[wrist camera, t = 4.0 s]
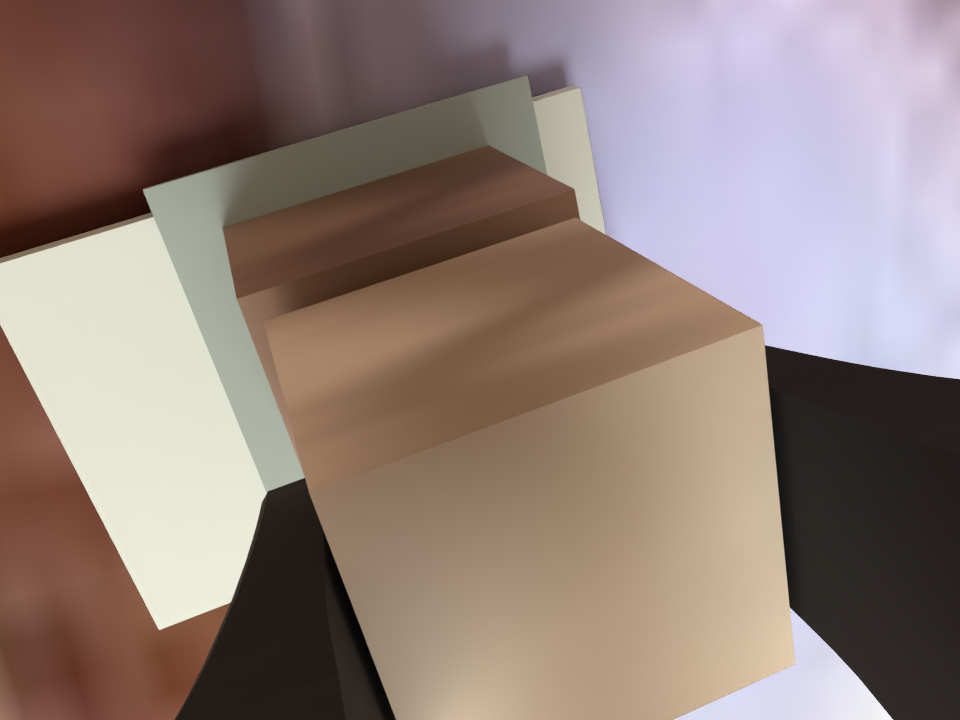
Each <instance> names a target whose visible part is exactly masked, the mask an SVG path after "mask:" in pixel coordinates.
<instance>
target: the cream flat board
mask: <svg viewBox="0 0 960 720" xmlns="http://www.w3.org/2000/svg"><path fill="white" fill-rule="evenodd" d="M488 145H489V146H491V147H493V148H495V149H497V150H499V151H501V152H503V153H505V154H507V155H509V156H511V157H513V158H515V159H517V160H519V161H520V162H522V163H524V164H526V165H528V166H530V167H532V168H534V169H536V170H538V171H540V172H542V173H544V174H546V175H548V176H550V177H552V178H554V179H556V180H558V181H560V182H562V183H564V184H566V185H568V186H570V187H572V188H573V189H575V194H576V199H577V205H578V210H579V215H580V220H581V221H583V222H584V223H586V224H588V225H590V226H591V227H593V228H595V229H597V230H598V231H600V232H602V233H603V234H605V235H606V232H605V227H604V221H603V215H602V209H601V204H600V198H599V192H598V186H597V180H596V175H595V169H594V163H593V157H592V152H591V146H590V140H589V134H588V128H587V123H586V117H585V111H584V105H583V100H582V94H581V88H580V87H576V86H573V85H572V86H568V87H565V88H562V89H558V90H555V91H552V92H548V93H545V94H542V95H538V96H535V97H532V95H531V90H530V85H529V80H528V75H524V76H521V77H517V78H514V79H511V80H507V81H504V82H501V83H497V84H494V85H490V86H487V87H484V88H480V89H477V90H474V91H470V92H467V93H463V94H460V95H457V96H453V97H450V98H447V99H443V100H440V101H437V102H433V103H430V104H426V105H423V106H420V107H416V108H413V109H410V110H406V111H403V112H399V113H396V114H393V115H389V116H386V117H383V118H379V119H376V120H373V121H369V122H366V123H362V124H359V125H356V126H352V127H349V128H346V129H342V130H339V131H335V132H332V133H329V134H325V135H322V136H319V137H315V138H312V139H309V140H305V141H302V142H298V143H295V144H292V145H288V146H285V147H282V148H278V149H275V150H271V151H268V152H265V153H261V154H258V155H255V156H251V157H248V158H245V159H241V160H238V161H234V162H231V163H228V164H224V165H221V166H218V167H214V168H211V169H207V170H204V171H201V172H197V173H194V174H191V175H187V176H184V177H181V178H177V179H174V180H170V181H167V182H164V183H160V184H157V185H154V186H150V187H147V188H143V192H144V195H145V197H146V200H147V202H148V204H149V207H150V209H151V213H148V214H145V215H141V216H138V217H135V218H131V219H128V220H125V221H121V222H118V223H115V224H112V225H108V226H105V227H102V228H98V229H95V230H92V231H88V232H85V233H82V234H78V235H75V236H72V237H69V238H65V239H62V240H59V241H55V242H52V243H49V244H45V245H42V246H39V247H35V248H32V249H29V250H26V251H22V252H19V253H16V254H12V255H9V256H6V257H2V258H0V325H1V327H2V329H3V331H4V333H5V335H6V337H7V338H8V340H9V342H10V344H11V346H12V348H13V350H14V352H15V354H16V356H17V358H18V360H19V362H20V363H21V365H22V367H23V369H24V371H25V373H26V375H27V377H28V379H29V381H30V383H31V385H32V387H33V388H34V390H35V392H36V394H37V396H38V398H39V400H40V402H41V404H42V406H43V408H44V410H45V412H46V413H47V415H48V417H49V419H50V421H51V423H52V425H53V427H54V429H55V431H56V433H57V435H58V437H59V438H60V440H61V442H62V444H63V446H64V448H65V450H66V452H67V454H68V456H69V458H70V460H71V462H72V464H73V465H74V467H75V469H76V471H77V473H78V475H79V477H80V479H81V481H82V483H83V485H84V487H85V489H86V490H87V492H88V494H89V496H90V498H91V500H92V502H93V504H94V506H95V508H96V510H97V512H98V514H99V515H100V517H101V519H102V521H103V523H104V525H105V527H106V529H107V531H108V533H109V535H110V537H111V539H112V540H113V542H114V544H115V546H116V548H117V550H118V552H119V554H120V556H121V558H122V560H123V562H124V564H125V565H126V567H127V569H128V571H129V573H130V575H131V577H132V579H133V581H134V583H135V585H136V587H137V589H138V591H139V592H140V594H141V596H142V598H143V600H144V602H145V604H146V606H147V608H148V610H149V612H150V614H151V616H152V617H153V619H154V621H155V623H156V625H157V627H158V629H159V630H161V629H163V628H166V627H168V626H171V625H174V624H176V623H179V622H181V621H184V620H186V619H189V618H192V617H194V616H197V615H199V614H202V613H204V612H207V611H210V610H212V609H215V608H217V607H220V606H223V605H225V604H228V603H230V602H231V601H232V598H233V595H234V593H235V590H236V587H237V584H238V581H239V579H240V576H241V573H242V570H243V568H244V565H245V562H246V559H247V556H248V552H249V549H250V546H251V543H252V539H253V536H254V532H255V529H256V525H257V521H258V517H259V513H260V509H261V504H262V501H263V499H264V498H265V496H266V494H267V492H268V491H270V490H273V489H276V488H278V487H281V486H284V485H287V484H289V483H292V482H295V481H297V480H300V479H303V478H305V476H304V474H303V471H302V468H301V466H300V463H299V461H298V458H297V455H296V453H295V450H294V448H293V445H292V442H291V440H290V437H289V434H288V432H287V429H286V427H285V424H284V421H283V419H282V416H281V414H280V411H279V408H278V406H277V403H276V400H275V398H274V395H273V393H272V390H271V387H270V385H269V382H268V380H267V377H266V374H265V372H264V369H263V366H262V364H261V361H260V359H259V356H258V353H257V351H256V348H255V346H254V343H253V340H252V338H251V335H250V333H249V330H248V327H247V325H246V322H245V319H244V317H243V314H242V312H241V309H240V306H239V304H238V301H237V298H236V293H235V288H234V283H233V278H232V273H231V268H230V263H229V258H228V253H227V249H226V244H225V239H224V234H223V229H222V228H223V227H226V226H230V225H233V224H236V223H239V222H243V221H246V220H249V219H252V218H255V217H259V216H262V215H265V214H268V213H272V212H275V211H278V210H281V209H285V208H288V207H291V206H294V205H297V204H301V203H304V202H307V201H310V200H314V199H317V198H320V197H323V196H327V195H330V194H333V193H336V192H339V191H343V190H346V189H349V188H352V187H356V186H359V185H362V184H365V183H368V182H372V181H375V180H378V179H381V178H385V177H388V176H391V175H394V174H398V173H401V172H404V171H407V170H410V169H414V168H417V167H420V166H423V165H427V164H430V163H433V162H436V161H440V160H443V159H446V158H449V157H452V156H456V155H459V154H462V153H465V152H469V151H472V150H475V149H478V148H481V147H485V146H488Z"/></svg>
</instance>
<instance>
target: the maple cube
mask: <svg viewBox="0 0 960 720" xmlns="http://www.w3.org/2000/svg"><path fill="white" fill-rule="evenodd" d="M263 323H264V326H265V330H266V334H267V337H268V341H269V345H270V349H271V352H272V356H273V360H274V364H275V367H276V371H277V375H278V379H279V382H280V386H281V390H282V393H283V397H284V401H285V405H286V408H287V412H288V416H289V420H290V423H291V427H292V431H293V435H294V438H295V442H296V446H297V449H298V453H299V457H300V461H301V464H302V468H303V472H304V476H305V479H306V483H307V487H308V491H309V494H310V497H311V499H312V502H313V504H314V507H315V510H316V512H317V515H318V517H319V520H320V523H321V525H322V528H323V530H324V533H325V536H326V538H327V541H328V544H329V546H330V549H331V551H332V554H333V557H334V559H335V562H336V564H337V567H338V570H339V572H340V575H341V577H342V580H343V583H344V585H345V588H346V590H347V593H348V596H349V598H350V601H351V603H352V606H353V609H354V611H355V614H356V616H357V619H358V622H359V624H360V627H361V630H362V632H363V635H364V637H365V640H366V643H367V645H368V648H369V650H370V653H371V656H372V658H373V661H374V663H375V666H376V669H377V671H378V674H379V676H380V679H381V682H382V684H383V687H384V689H385V692H386V695H387V697H388V700H389V702H390V705H391V708H392V710H393V713H394V716H395V718H396V720H673V719H676V718H678V717H680V716H682V715H684V714H687V713H689V712H691V711H693V710H696V709H698V708H700V707H702V706H704V705H707V704H709V703H711V702H713V701H715V700H718V699H720V698H722V697H724V696H726V695H729V694H731V693H733V692H735V691H737V690H740V689H742V688H744V687H746V686H748V685H751V684H753V683H755V682H757V681H759V680H762V679H764V678H766V677H768V676H770V675H773V674H775V673H777V672H779V671H782V670H784V669H786V668H788V667H790V666H793V665H795V658H794V647H793V637H792V626H791V616H790V605H789V595H788V585H787V574H786V564H785V553H784V543H783V532H782V522H781V511H780V501H779V490H778V480H777V470H776V459H775V449H774V438H773V428H772V417H771V407H770V396H769V386H768V375H767V365H766V355H765V344H764V334H763V325H762V324H760V323H758V322H757V321H755V320H753V319H751V318H750V317H748V316H746V315H744V314H743V313H741V312H739V311H738V310H736V309H734V308H732V307H731V306H729V305H727V304H725V303H724V302H722V301H720V300H718V299H717V298H715V297H713V296H711V295H710V294H708V293H706V292H704V291H703V290H701V289H699V288H697V287H696V286H694V285H692V284H691V283H689V282H687V281H685V280H684V279H682V278H680V277H678V276H677V275H675V274H673V273H671V272H670V271H668V270H666V269H664V268H663V267H661V266H659V265H657V264H656V263H654V262H652V261H650V260H649V259H647V258H645V257H644V256H642V255H640V254H638V253H637V252H635V251H633V250H631V249H630V248H628V247H626V246H624V245H623V244H621V243H619V242H617V241H616V240H614V239H612V238H610V237H609V236H607V235H605V234H603V233H602V232H600V231H598V230H597V229H595V228H593V227H591V226H590V225H588V224H586V223H584V222H583V221H581V220H579V219H577V218H573V219H570V220H567V221H564V222H561V223H558V224H555V225H552V226H549V227H546V228H543V229H540V230H537V231H534V232H531V233H528V234H525V235H522V236H519V237H516V238H513V239H510V240H507V241H504V242H501V243H498V244H495V245H492V246H489V247H486V248H483V249H480V250H477V251H474V252H471V253H468V254H465V255H462V256H459V257H456V258H453V259H450V260H447V261H444V262H441V263H438V264H435V265H432V266H429V267H426V268H423V269H420V270H417V271H414V272H410V273H407V274H404V275H401V276H398V277H395V278H392V279H389V280H386V281H383V282H380V283H377V284H374V285H371V286H368V287H365V288H362V289H359V290H356V291H353V292H350V293H347V294H344V295H341V296H338V297H335V298H332V299H329V300H326V301H323V302H320V303H317V304H314V305H311V306H308V307H305V308H302V309H299V310H296V311H293V312H290V313H287V314H284V315H281V316H278V317H275V318H272V319H269V320H266V321H263Z"/></svg>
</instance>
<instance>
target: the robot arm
mask: <svg viewBox="0 0 960 720" xmlns="http://www.w3.org/2000/svg"><path fill="white" fill-rule="evenodd" d="M765 355H766V365H767V375H768V386H769V396H770V407H771V417H772V428H773V438H774V449H775V459H776V470H777V480H778V490H779V501H780V511H781V522H782V532H783V543H784V553H785V564H786V574H787V585H788V595H789V605H790V608H791V609H792V610H793V611H794V612H795V613H796V614H797V615H798V616H799V617H800V618H801V619H802V620H803V621H804V622H806V623H807V624H808V625H809V626H810V627H811V628H812V629H813V630H814V631H815V632H816V633H817V634H818V635H819V636H820V637H821V638H822V639H823V640H824V641H825V642H826V643H827V644H828V645H829V646H830V647H831V648H832V649H833V650H834V651H835V652H836V653H837V655H838V656H839V657H840V658H841V659H842V660H843V661H844V662H845V663H846V664H847V665H848V666H849V667H850V669H851V670H852V671H853V672H854V673H855V674H856V675H857V676H858V677H859V678H860V680H861V681H862V682H863V683H864V684H865V686H866V687H867V688H868V689H869V691H870V692H871V693H872V694H873V695H874V697H875V698H876V699H877V700H878V702H879V703H880V704H881V705H882V706H883V708H884V709H885V710H886V711H887V712H888V714H889V715H890V716H891V717H892V719H893V720H960V379H952V378H944V377H936V376H928V375H922V374H915V373H909V372H902V371H896V370H889V369H883V368H877V367H871V366H865V365H860V364H854V363H849V362H844V361H838V360H833V359H828V358H823V357H818V356H813V355H808V354H804V353H799V352H794V351H789V350H785V349H780V348H775V347H770V346H765ZM175 720H396V718H395V716H394V713H393V710H392V708H391V705H390V702H389V700H388V697H387V695H386V692H385V689H384V687H383V684H382V682H381V679H380V676H379V674H378V671H377V669H376V666H375V663H374V661H373V658H372V656H371V653H370V650H369V648H368V645H367V643H366V640H365V637H364V635H363V632H362V630H361V627H360V624H359V622H358V619H357V616H356V614H355V611H354V609H353V606H352V603H351V601H350V598H349V596H348V593H347V590H346V588H345V585H344V583H343V580H342V577H341V575H340V572H339V570H338V567H337V564H336V562H335V559H334V557H333V554H332V551H331V549H330V546H329V544H328V541H327V538H326V536H325V533H324V530H323V528H322V525H321V523H320V520H319V517H318V515H317V512H316V510H315V507H314V504H313V502H312V499H311V497H310V494H309V491H308V487H307V483H306V479H305V478H303V479H300V480H297V481H295V482H292V483H289V484H287V485H284V486H281V487H278V488H276V489H273V490H270V491H268V492H267V494H266V496H265V498H264V499H263V501H262V504H261V509H260V513H259V517H258V521H257V525H256V529H255V532H254V536H253V539H252V543H251V546H250V549H249V552H248V556H247V559H246V562H245V565H244V568H243V570H242V573H241V576H240V579H239V581H238V584H237V587H236V590H235V593H234V595H233V598H232V601H231V603H230V606H229V609H228V611H227V613H226V616H225V618H224V620H223V623H222V625H221V627H220V629H219V632H218V634H217V636H216V638H215V641H214V643H213V645H212V648H211V650H210V652H209V654H208V657H207V659H206V661H205V663H204V665H203V667H202V669H201V671H200V673H199V675H198V677H197V679H196V681H195V683H194V685H193V687H192V689H191V691H190V693H189V695H188V697H187V699H186V701H185V702H184V704H183V706H182V708H181V710H180V711H179V713H178V715H177V717H176V718H175Z"/></svg>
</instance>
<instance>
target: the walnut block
mask: <svg viewBox="0 0 960 720" xmlns="http://www.w3.org/2000/svg"><path fill="white" fill-rule="evenodd" d="M573 218H577V219H579V220H580V215H579V210H578V205H577V199H576V194H575V189H573V188H572V187H570V186H568V185H566V184H564V183H562V182H560V181H558V180H556V179H554V178H552V177H550V176H548V175H546V174H544V173H542V172H540V171H538V170H536V169H534V168H532V167H530V166H528V165H526V164H524V163H522V162H520V161H519V160H517V159H515V158H513V157H511V156H509V155H507V154H505V153H503V152H501V151H499V150H497V149H495V148H493V147H491V146H489V145H488V146H485V147H481V148H478V149H475V150H472V151H469V152H465V153H462V154H459V155H456V156H452V157H449V158H446V159H443V160H440V161H436V162H433V163H430V164H427V165H423V166H420V167H417V168H414V169H410V170H407V171H404V172H401V173H398V174H394V175H391V176H388V177H385V178H381V179H378V180H375V181H372V182H368V183H365V184H362V185H359V186H356V187H352V188H349V189H346V190H343V191H339V192H336V193H333V194H330V195H327V196H323V197H320V198H317V199H314V200H310V201H307V202H304V203H301V204H297V205H294V206H291V207H288V208H285V209H281V210H278V211H275V212H272V213H268V214H265V215H262V216H259V217H255V218H252V219H249V220H246V221H243V222H239V223H236V224H233V225H230V226H226V227H223V228H222V229H223V234H224V239H225V244H226V249H227V253H228V258H229V263H230V268H231V273H232V278H233V283H234V288H235V293H236V298H237V301H238V304H239V306H240V309H241V312H242V314H243V317H244V319H245V322H246V325H247V327H248V330H249V333H250V335H251V338H252V340H253V343H254V346H255V348H256V351H257V353H258V356H259V359H260V361H261V364H262V366H263V369H264V372H265V374H266V377H267V380H268V382H269V385H270V387H271V390H272V393H273V395H274V398H275V400H276V403H277V406H278V408H279V411H280V414H281V416H282V419H283V421H284V424H285V427H286V429H287V432H288V434H289V437H290V440H291V442H292V445H293V448H294V450H295V453H296V455H297V458H298V461H299V463H300V466H301V468H302V464H301V461H300V457H299V453H298V449H297V446H296V442H295V438H294V435H293V431H292V427H291V423H290V420H289V416H288V412H287V408H286V405H285V401H284V397H283V393H282V390H281V386H280V382H279V379H278V375H277V371H276V367H275V364H274V360H273V356H272V352H271V349H270V345H269V341H268V337H267V334H266V330H265V326H264V323H263V321H266V320H269V319H272V318H275V317H278V316H281V315H284V314H287V313H290V312H293V311H296V310H299V309H302V308H305V307H308V306H311V305H314V304H317V303H320V302H323V301H326V300H329V299H332V298H335V297H338V296H341V295H344V294H347V293H350V292H353V291H356V290H359V289H362V288H365V287H368V286H371V285H374V284H377V283H380V282H383V281H386V280H389V279H392V278H395V277H398V276H401V275H404V274H407V273H410V272H414V271H417V270H420V269H423V268H426V267H429V266H432V265H435V264H438V263H441V262H444V261H447V260H450V259H453V258H456V257H459V256H462V255H465V254H468V253H471V252H474V251H477V250H480V249H483V248H486V247H489V246H492V245H495V244H498V243H501V242H504V241H507V240H510V239H513V238H516V237H519V236H522V235H525V234H528V233H531V232H534V231H537V230H540V229H543V228H546V227H549V226H552V225H555V224H558V223H561V222H564V221H567V220H570V219H573ZM302 471H303V468H302ZM303 474H304V472H303Z"/></svg>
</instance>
